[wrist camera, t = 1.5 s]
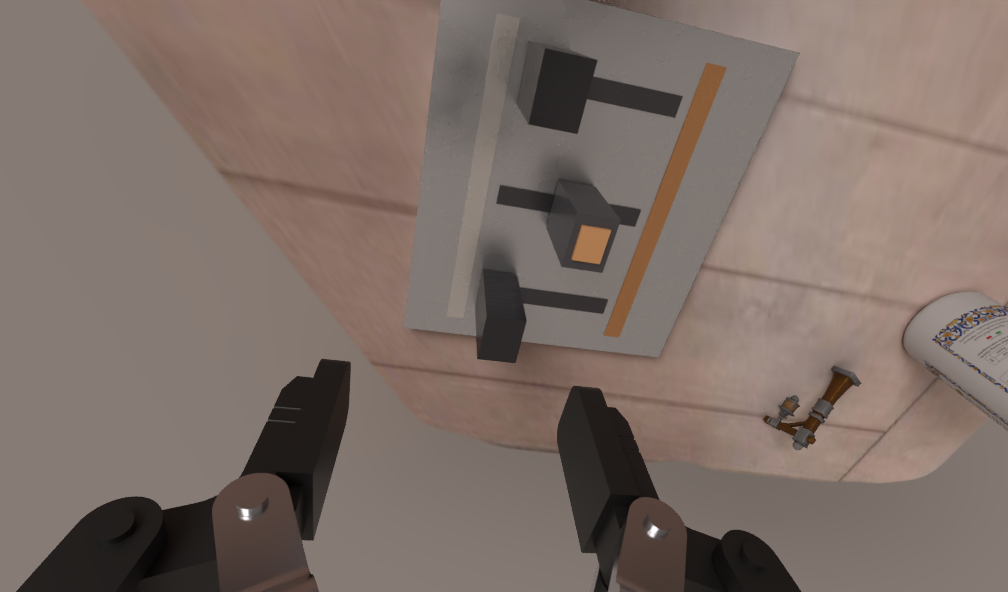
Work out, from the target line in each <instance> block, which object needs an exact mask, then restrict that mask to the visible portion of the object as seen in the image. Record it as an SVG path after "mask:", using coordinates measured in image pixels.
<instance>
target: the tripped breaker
mask: <svg viewBox="0 0 1008 592" xmlns="http://www.w3.org/2000/svg"><path fill="white" fill-rule="evenodd" d="M620 221H621V220H620V218H619V217H618V216H617V214H616V213H615V212H614V210H613V209H612V208H611V206H610V205H609V204H608V203H607V201H606V200H605V199H604V197H603V196H602V195H601V193H600V192H599V191H598V189H597V188H596V187H595V186H589V185H584V184H578V183H572V182H567V181H561V180H559V181H558V185H557V188H556V192H555V196H554V200H553V204H552V207H551V211H550V215H549V219H548V222H547V226H546V229H547V231H548V234H549V236H550V239H551V241H552V244H553V247H554V249H555V252H556V254H557V257H558V259H559V262H560V265H561V267H565V268H572V269H579V270H585V271H592V272H599V273H603V270H604V267H605V264H606V261H607V259H608V256H609V253H610V250H611V247H612V244H613V241H614V238H615V236H616V233H617V230H618V227H619V224H620Z"/></svg>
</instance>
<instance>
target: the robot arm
mask: <svg viewBox="0 0 1008 592" xmlns="http://www.w3.org/2000/svg"><path fill="white" fill-rule="evenodd" d="M350 371H351V363H350V362H346V361H338V360H327V359H321V361H320V362H319V365H318V367H317V370H316V372H315V375H314V378H310V377H300V376H297V377H296V378H294V379H293V380H292V381H291V382H290V383H289V384H287V386H286V387H284V388H283V389H282V390H281V392H280V395H279V397H278V399H277V401H276V403H275V406H274V408H273V409H272V412H271V414H270V416H269V418H268V422H266V424H265V426H264V429H263V430H262V433H261V435H260V437H259V439H258V441H257V443H256V445H255V447H254V450H253V452H252V454H251V456H250V458H249V460H248V462H247V464H246V466H245V469H244V471H243V472H242V474H241V476H240V477H239V478H238V479H236V480H235V481H233V482H231V483H230V484H228V485H227V486H226V487H225V488H224V489H223V490H222V491H221V492H220V493H219V495H217V496H215V497H213V498H210V499H208V500H205V501H202V502H198V503H194V504H189V505H185V506H180V507H175V508H170V509H166V510H162V509H161V507H160V506H159V505H158V504H157V503H156V502H155V501H153V500H151V499H148V498H145V497H126V498H121V499H117V500H114V501H111V502H109V503H106V504H104V505H102V506H100V507H98V508H96V509H95V510H93V511H92V512H90V513H89V514H87V515H86V516H85V517H84V518H82V519H81V520H80V522H78V524H77V525H76V526H75V527H74V528H73V529H72V530H71V531H70V532H69V534H68V535H67V536H66V537H65V538H64V539H63V540H62V541H61V542H60V543H59V545H58V546H57V547H56V548H55V549H54V550H53V551H52V552H51V554H49V556H48V557H47V558H46V559H45V560H44V561H43V562H42V563H41V565H40V566H39V567H38V568H37V569H36V570H35V571H34V572H33V573H32V575H31V576H30V577H29V578H28V579H27V580H26V581H25V582H24V584H23V585H22V586H21V587H20V588H19V589H18V590H17V591H16V592H319V591H318V587H317V583H316V580H315V578H314V576H313V574H310V571H309V568H308V564H307V560H306V556H305V552H304V548H303V544H302V540H314V536H315V533H316V529H317V526H318V522H319V518H320V515H321V511H322V507H323V504H324V500H325V497H326V493H327V490H328V486H329V483H330V479H331V475H332V472H333V468H334V465H335V461H336V457H337V454H338V450H339V447H340V443H341V439H342V436H343V432H344V429H345V425H346V420H347V414H348V408H349V392H350ZM557 443H558V448H559V453H560V457H561V462H562V466H563V471H564V475H565V479H566V484H567V489H568V493H569V497H570V502H571V507H572V511H573V516H574V520H575V525H576V529H577V533H578V538H579V543H580V547H581V552H582V553H596V554H597V557H598V562H599V565H598V567H597V569H596V571H595V574H594V579H593V583H592V587H591V591H590V592H801V590H799V588H798V586H797V585H796V583H795V582H794V580H793V579H792V577H791V576H790V574H789V573H788V572H787V570H786V568H785V567H784V565H783V564H782V563H781V561H780V560H779V558H778V557H777V555H776V554H775V553H774V551H773V550H772V549H771V548H770V547H769V546H768V545H767V544H766V543H765V542H764V541H762V540H761V539H760V538H758V537H756V536H754V535H753V534H751V533H749V532H746V531H742V530H731V531H729V532H727V533H726V534H725V535H724V536H723V537H722V539H721V540H719V539H717V538H714V537H711V536H708V535H706V534H703V533H700V532H698V531H695V530H692V529H690V528H688V527H686V526H685V525H684V523H683V521H682V519H681V518H680V516H679V515H678V514H677V513H676V512H675V511H674V510H673V509H672V508H671V507H670V506H668V505H667V504H666V503H664V502H662V501H660V500H659V498H658V495H657V493H656V491H655V488H654V486H653V483H652V481H651V478H650V475H649V473H648V471H647V468H646V466H645V463H644V461H643V458H642V456H641V453H639V448H638V446H637V443H636V441H635V440H634V436H633V434H632V431H631V429H630V426H629V424H628V422H627V420H626V419H625V418H624V417H623V416H622V415H621V413H620V412H619V411H618V410H617V409H616V408H612V407H607V405H606V402H605V399H604V396H603V394H602V391H601V390H600V389H599V388H592V387H582V386H573V387H572V389H571V391H570V393H569V396H568V399H567V402H566V404H565V407H564V410H563V413H562V415H561V418H560V421H559V424H558V430H557Z"/></svg>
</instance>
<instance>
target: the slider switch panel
mask: <svg viewBox="0 0 1008 592" xmlns="http://www.w3.org/2000/svg"><path fill="white" fill-rule="evenodd" d="M799 54H800V53H798V52H794V51H790V50H786V49H782V48H778V47H774V46H770V45H766V44H762V43H758V42H754V41H750V40H746V39H742V38H738V37H734V36H730V35H726V34H722V33H718V32H714V31H710V30H706V29H701V28H697V27H693V26H689V25H685V24H681V23H677V22H673V21H669V20H665V19H661V18H657V17H653V16H649V15H645V14H641V13H637V12H633V11H629V10H625V9H621V8H617V7H613V6H609V5H605V4H601V3H597V2H593V1H589V0H441V6H440V15H439V24H438V33H437V41H436V50H435V59H434V68H433V77H432V86H431V94H430V103H429V112H428V121H427V130H426V139H425V147H424V156H423V165H422V174H421V183H420V192H419V200H418V209H417V218H416V227H415V236H414V245H413V253H412V262H411V271H410V280H409V289H408V297H407V306H406V315H405V324H404V328H410V329H419V330H428V331H436V332H445V333H453V334H462V335H470V336H476V342H477V359H482V360H492V361H501V362H510V363H516V359H517V355H518V352H519V348H520V344H521V342H530V343H538V344H547V345H555V346H564V347H573V348H581V349H590V350H598V351H607V352H615V353H624V354H632V355H641V356H649V357H659V355H660V353H661V351H662V349H663V347H664V344H665V342H666V340H667V338H668V336H669V334H670V332H671V329H672V327H673V325H674V323H675V321H676V319H677V316H678V314H679V312H680V310H681V308H682V306H683V304H684V301H685V299H686V297H687V295H688V293H689V291H690V288H691V286H692V284H693V282H694V280H695V278H696V276H697V273H698V271H699V269H700V267H701V265H702V263H703V260H704V258H705V256H706V254H707V252H708V250H709V248H710V245H711V243H712V241H713V239H714V237H715V235H716V233H717V230H718V228H719V226H720V224H721V222H722V220H723V217H724V215H725V213H726V211H727V209H728V207H729V205H730V202H731V200H732V198H733V196H734V194H735V192H736V189H737V187H738V185H739V183H740V181H741V179H742V177H743V174H744V172H745V170H746V168H747V166H748V164H749V161H750V159H751V157H752V155H753V153H754V151H755V149H756V146H757V144H758V142H759V140H760V138H761V136H762V133H763V131H764V129H765V127H766V125H767V123H768V121H769V118H770V116H771V114H772V112H773V110H774V108H775V105H776V103H777V101H778V99H779V97H780V95H781V93H782V90H783V88H784V86H785V84H786V82H787V80H788V77H789V75H790V73H791V71H792V69H793V67H794V65H795V62H796V60H797V58H798V56H799ZM559 180H561V181H567V182H572V183H578V184H584V185H589V186H595V187H596V188H597V189H598V191H599V192H600V193H601V195H602V196H603V197H604V199H605V200H606V201H607V203H608V204H609V205H610V206H611V208H612V209H613V210H614V212H615V213H616V214H617V216H618V217H619V218H620V220H621V221H620V224H619V227H618V230H617V233H616V236H615V238H614V241H613V244H612V247H611V250H610V253H609V256H608V259H607V261H606V264H605V267H604V270H603V273H599V272H592V271H585V270H579V269H572V268H565V267H561V265H560V262H559V259H558V257H557V254H556V252H555V249H554V247H553V244H552V241H551V239H550V236H549V234H548V231H547V229H546V226H547V222H548V219H549V215H550V211H551V207H552V204H553V200H554V196H555V192H556V188H557V185H558V181H559Z"/></svg>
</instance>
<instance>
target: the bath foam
mask: <svg viewBox="0 0 1008 592" xmlns="http://www.w3.org/2000/svg"><path fill="white" fill-rule="evenodd" d="M903 343H904V347H905V349H906V351H907V352H908V354H909V355H910V356H912V357H913V358H914V359H915V360H917V361H918V362H919V363H921V364H922V365H923V366H924V367H926V368H927V369H928V370H929V371H931V372H932V373H933V374H934V375H936V376H937V377H938V378H940V379H941V380H942V381H943V382H945V383H946V384H947V385H949V386H950V387H951V388H953V389H954V390H955V391H956V392H958V393H959V394H960V395H962V396H963V397H964V398H966V399H967V400H968V401H969V402H971V403H972V404H973V405H975V406H976V407H977V408H979V409H980V410H981V411H982V412H984V413H985V414H986V415H988V416H989V417H990V418H991V419H993V420H994V421H996V422H997V423H998V424H999V425H1001V426H1002V427H1003V428H1004V429H1006V430H1007V431H1008V307H1007V306H1005V305H1003V304H1001V303H999V302H997V301H996V300H994V299H992V298H990V297H988V296H986V295H984V294H982V293H978V292H973V291H964V292H958V293H953V294H949V295H946V296H943V297H941V298H939V299H937V300H935V301H933V302H932V303H930V304H928V305H927V306H926V307H924V308H923V309H922V310H921V311H920V312H918V313H917V314H916V315H915V317H914V318H913V319H912V320H911V322H910V323H909V325H908V326H907V328H906V331H905V333H904V339H903Z"/></svg>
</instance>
